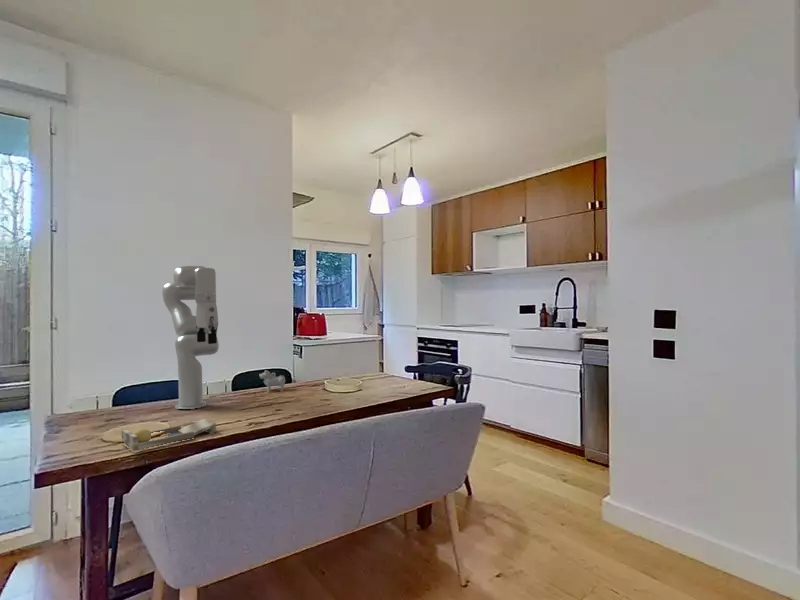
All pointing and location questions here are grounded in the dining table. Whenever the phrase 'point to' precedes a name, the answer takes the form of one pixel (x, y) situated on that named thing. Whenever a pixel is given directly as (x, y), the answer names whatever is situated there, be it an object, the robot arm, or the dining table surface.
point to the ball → (143, 435)
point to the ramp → (199, 427)
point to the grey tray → (132, 440)
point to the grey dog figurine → (272, 380)
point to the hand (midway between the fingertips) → (206, 342)
